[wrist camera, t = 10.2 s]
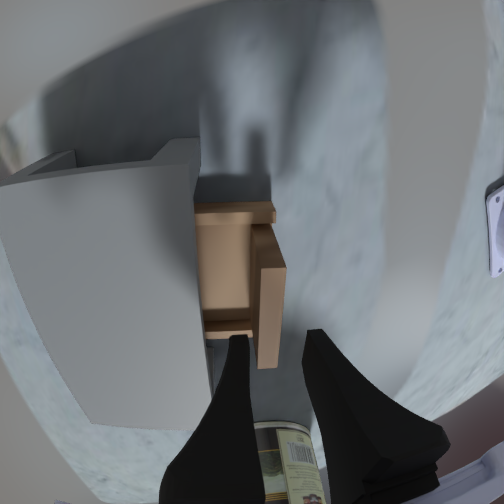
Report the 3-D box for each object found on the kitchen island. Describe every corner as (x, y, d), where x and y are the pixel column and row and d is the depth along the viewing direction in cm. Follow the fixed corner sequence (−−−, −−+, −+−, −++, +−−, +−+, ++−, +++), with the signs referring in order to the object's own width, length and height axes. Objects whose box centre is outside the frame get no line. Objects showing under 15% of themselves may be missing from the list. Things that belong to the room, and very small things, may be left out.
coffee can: (206, 458, 30) (212, 567, 18) (224, 417, 25) (236, 563, 13) (290, 460, 32) (309, 559, 20) (327, 419, 28) (361, 544, 15)
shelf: (200, 137, 14) (188, 164, 9) (214, 360, 21) (216, 430, 16) (52, 153, 13) (-12, 189, 8) (108, 359, 21) (91, 423, 16)
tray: (270, 199, 16) (290, 244, 12) (265, 317, 20) (277, 379, 16) (104, 206, 16) (66, 252, 11) (129, 320, 20) (112, 381, 15)
